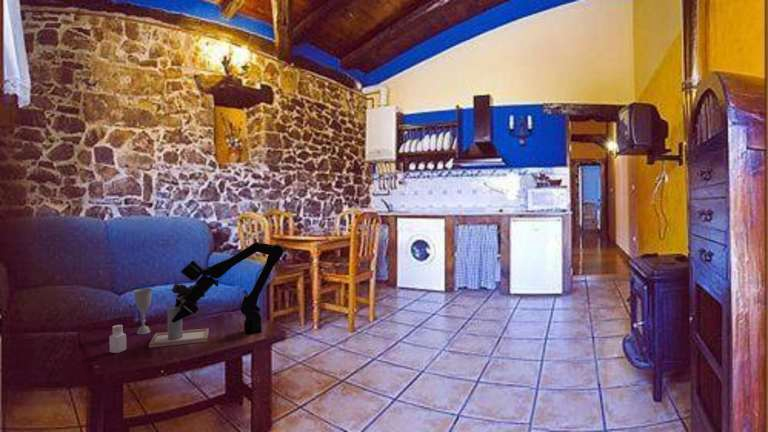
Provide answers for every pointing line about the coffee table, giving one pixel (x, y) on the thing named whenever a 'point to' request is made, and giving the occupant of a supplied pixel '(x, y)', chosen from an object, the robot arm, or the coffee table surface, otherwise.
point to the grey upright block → (174, 324)
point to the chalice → (143, 306)
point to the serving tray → (187, 338)
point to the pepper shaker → (117, 339)
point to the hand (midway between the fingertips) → (170, 319)
